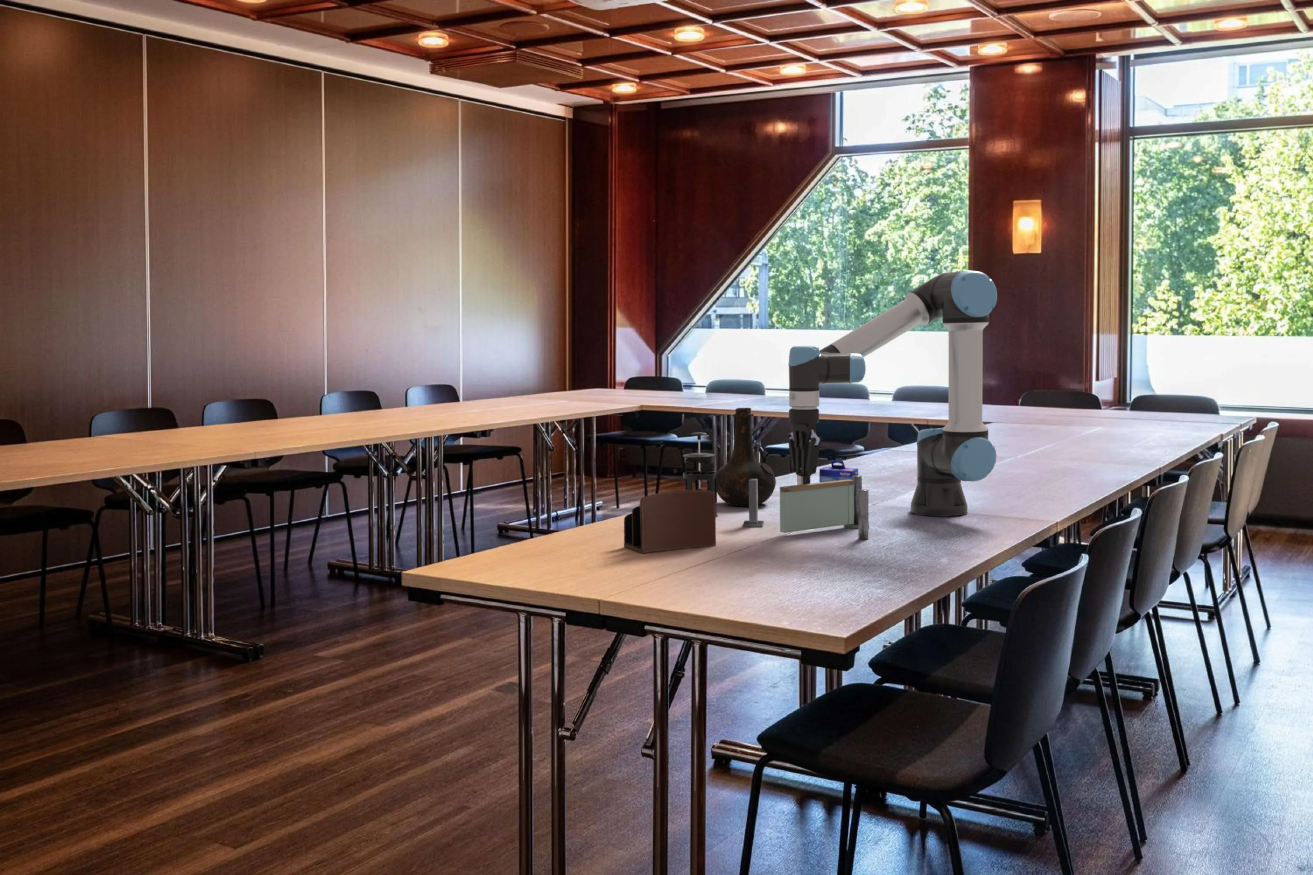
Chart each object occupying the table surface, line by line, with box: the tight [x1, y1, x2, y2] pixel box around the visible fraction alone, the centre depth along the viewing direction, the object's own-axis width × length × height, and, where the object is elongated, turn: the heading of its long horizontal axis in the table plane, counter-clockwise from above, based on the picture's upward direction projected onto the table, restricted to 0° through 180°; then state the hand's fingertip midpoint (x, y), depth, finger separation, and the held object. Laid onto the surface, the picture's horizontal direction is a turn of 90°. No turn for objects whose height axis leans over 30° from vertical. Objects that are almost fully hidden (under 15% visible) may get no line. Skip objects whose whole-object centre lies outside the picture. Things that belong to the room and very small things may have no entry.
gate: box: [779, 479, 854, 534], centre depth 310 cm, size 22×2×11 cm, turn 122°
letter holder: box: [623, 489, 717, 555], centre depth 294 cm, size 10×20×14 cm, turn 117°
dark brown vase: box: [716, 407, 777, 507], centre depth 357 cm, size 18×18×28 cm
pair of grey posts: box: [742, 475, 870, 541], centre depth 311 cm, size 32×22×13 cm
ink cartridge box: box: [818, 460, 859, 483], centre depth 340 cm, size 10×6×14 cm, turn 64°
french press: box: [682, 431, 718, 518], centre depth 337 cm, size 12×9×23 cm
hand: (803, 501), depth 312 cm, fingers closed
